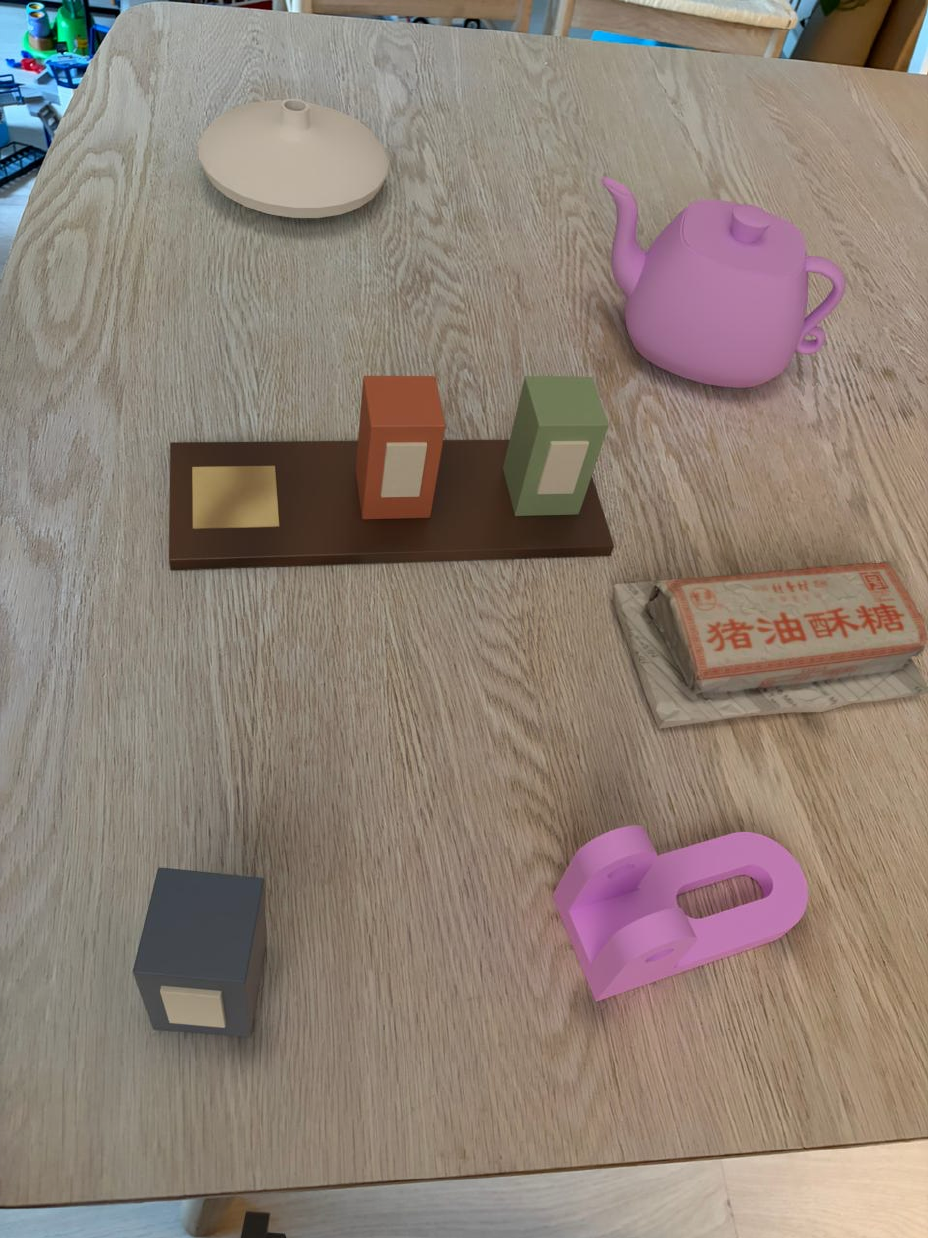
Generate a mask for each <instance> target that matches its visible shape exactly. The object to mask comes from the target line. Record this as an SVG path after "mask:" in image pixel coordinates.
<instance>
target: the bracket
mask: <svg viewBox="0 0 928 1238" xmlns="http://www.w3.org/2000/svg"><path fill="white" fill-rule="evenodd" d="M739 876H746V877H749V878H752V880H754V881H756V882H757V883H758V885H759V886H760V888H761V891H762V896H763V897H762V898H760V899H757V900H754V901H750V902H748V903H744V904H741V905H739V906H735V907H733V908H729V909H726V910H723V911H720V912H718V913H714V914H711V915H708V916H705V917H702V918H693V917H690V916H689V915H687V914H686V912H685V910H684V908H681V907H680V906H679V905H678V901H677V900H678V899H677V896H679V895H682V894H685V893H687V892H691V891H694V890H697V889H700V888H703V887H707V886H710V885H713V884H716V883H720V882H723V881H727V880H729V879H733V878H736V877H739ZM808 889H809V888H808V884H807V879H806V877H805V875H804V872H803V870H802V868H801V866H800V864H799V863H798V861H797V860H796V859H795V857H794V856H793V855H792V854H791V853H790V851H788V850H787V849H786V848H785V847H784V845H782V844H780V843H779V842H777V841H776V840H774V839H772V838H770V837H768V836H765V835H763V834H760V833H757V832H751V831H738V832H737V831H735V832H731V833H728V834H725V835H722V836H718V837H715V838H712V839H711V838H710V839H709V840H708V839H707V840H705V841H702V842H699V843H695V844H691V845H689V846H685V847H682V848H678V849H675V850H672V851H668V852H665V853H662V854H659V855H658V853H657V852H656V850H655V847H654V845H653V843H652V841H651V840H650V838H649V835H648V833H647V831H646V829H645V827H644V826H642V825H627V826H622V827H619V828H616V829H612V830H610V831H607V832H604V833H602V834H601V835H598V836H597V837H594V838H593V839H591V840H590V841H587V843H585V844H583V845H582V846H581V847H580V848H579V849H578V850H577V851H576V852H575V853H574V855H573V857H572V859H571V861H570V862H569V864H568V866H567V867H566V870H565V872H564V873H563V875H562V877H561V879H560V881H559V882H558V884H557V886H556V888H555V890H554V891H553V893H552V896H551V897H552V899H553V902H554V904H555V907H556V909H557V911H558V913H559V916H560V919H561V921H562V923H563V926H564V929H565V931H566V933H567V936H568V938H569V940H570V943H571V945H572V948H573V951H574V953H575V956H576V958H577V960H578V963H579V966H580V968H581V970H582V972H583V975H584V977H585V980H586V982H587V984H588V985H587V986H588V987H589V989H590V992H591V994H592V996H593V997H592V998H593V999H594V1002H600V1001H602V1000H605V999H608V998H611V997H614V996H617V995H620V994H623V993H626V992H629V991H632V990H635V989H637V988H640V987H643V986H646V985H649V984H652V983H655V982H658V981H660V980H663V979H666V978H670V977H672V976H676V975H678V974H681V973H685V972H687V971H690V970H693V969H696V968H699V967H701V966H705V965H707V964H711V963H713V962H716V961H719V960H722V959H725V958H728V957H731V956H733V955H736V954H740V953H742V952H745V951H748V950H752V949H754V948H758V947H761V946H763V945H766V944H769V943H772V942H775V941H777V940H779V939H780V938H782V937H783V936H784V935H786V934H787V933H788V932H789V931H790V930H791V929H792V928H793V927H794V926H796V925H797V924H798V923H799V921H800V920H801V919H802V918H803V916H804V914H805V912H806V910H807V905H808V900H809V891H808Z"/></svg>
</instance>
